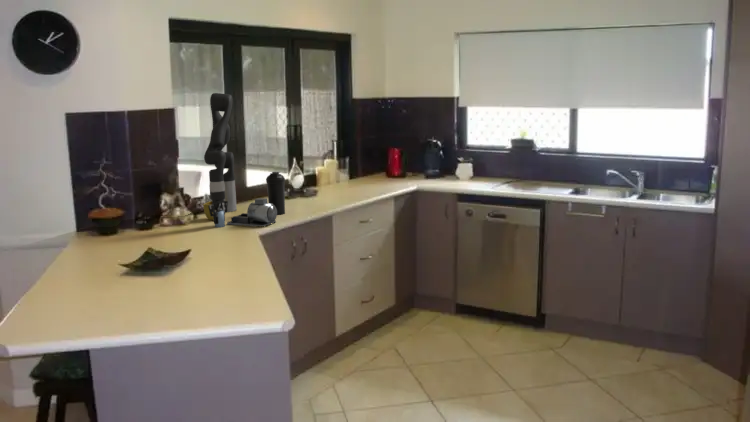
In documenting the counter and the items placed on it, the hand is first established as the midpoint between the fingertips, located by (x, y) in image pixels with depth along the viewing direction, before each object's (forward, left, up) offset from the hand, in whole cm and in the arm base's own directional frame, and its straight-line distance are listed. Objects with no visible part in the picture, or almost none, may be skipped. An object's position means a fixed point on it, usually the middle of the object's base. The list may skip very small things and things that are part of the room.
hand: (219, 222), depth 358 cm
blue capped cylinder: (0, 0, -2) cm, 2 cm away
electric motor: (+13, +11, -2) cm, 17 cm away
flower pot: (-13, +14, -2) cm, 19 cm away
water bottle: (+12, +37, -2) cm, 39 cm away
